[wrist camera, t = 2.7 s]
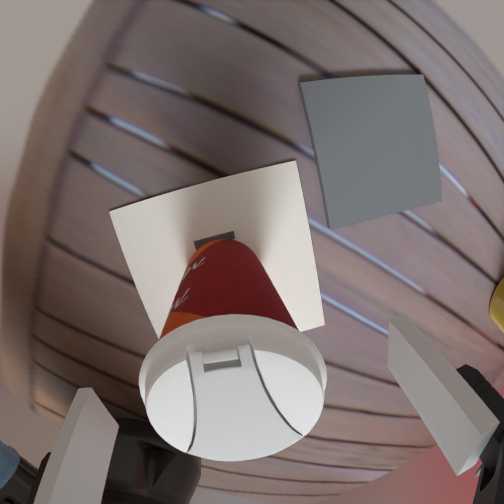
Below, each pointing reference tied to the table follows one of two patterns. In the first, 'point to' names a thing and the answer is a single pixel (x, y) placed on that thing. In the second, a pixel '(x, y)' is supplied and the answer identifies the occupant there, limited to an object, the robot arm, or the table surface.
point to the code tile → (224, 237)
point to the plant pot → (498, 305)
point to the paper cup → (231, 362)
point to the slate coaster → (372, 145)
